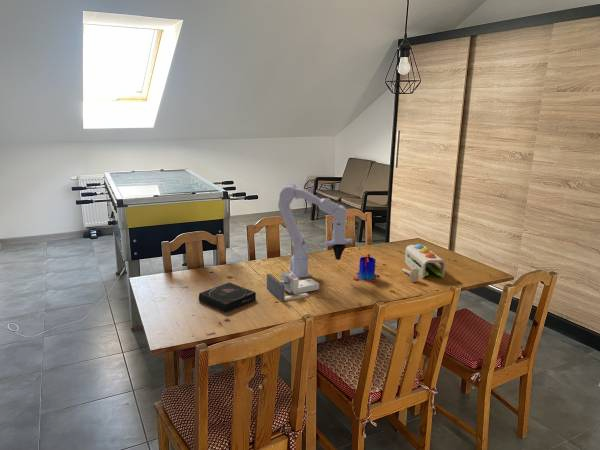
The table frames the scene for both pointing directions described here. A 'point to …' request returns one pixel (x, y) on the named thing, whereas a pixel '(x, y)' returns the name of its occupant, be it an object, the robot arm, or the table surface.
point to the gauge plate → (287, 282)
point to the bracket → (304, 285)
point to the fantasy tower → (367, 270)
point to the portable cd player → (227, 297)
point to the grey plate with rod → (280, 289)
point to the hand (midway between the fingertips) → (337, 259)
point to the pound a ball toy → (422, 262)
